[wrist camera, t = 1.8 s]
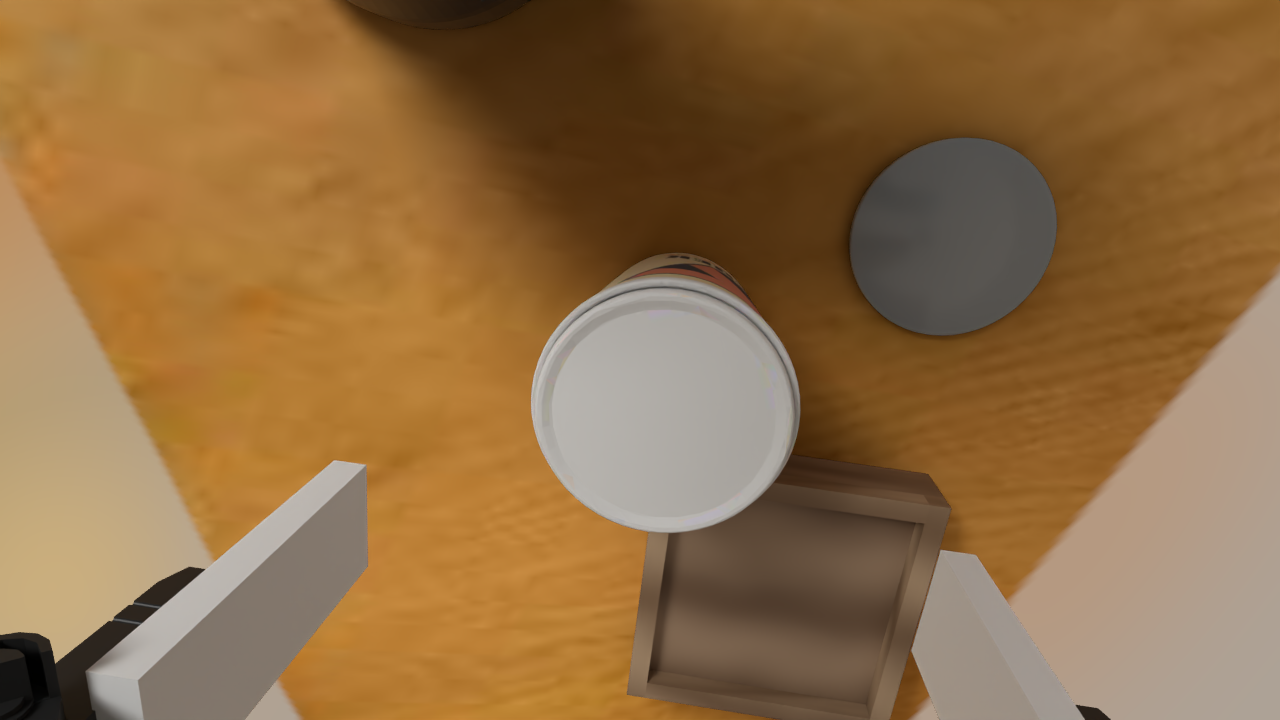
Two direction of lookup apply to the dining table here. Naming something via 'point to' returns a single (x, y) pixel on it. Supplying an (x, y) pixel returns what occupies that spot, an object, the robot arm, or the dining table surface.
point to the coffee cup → (666, 398)
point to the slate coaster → (952, 236)
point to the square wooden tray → (793, 596)
